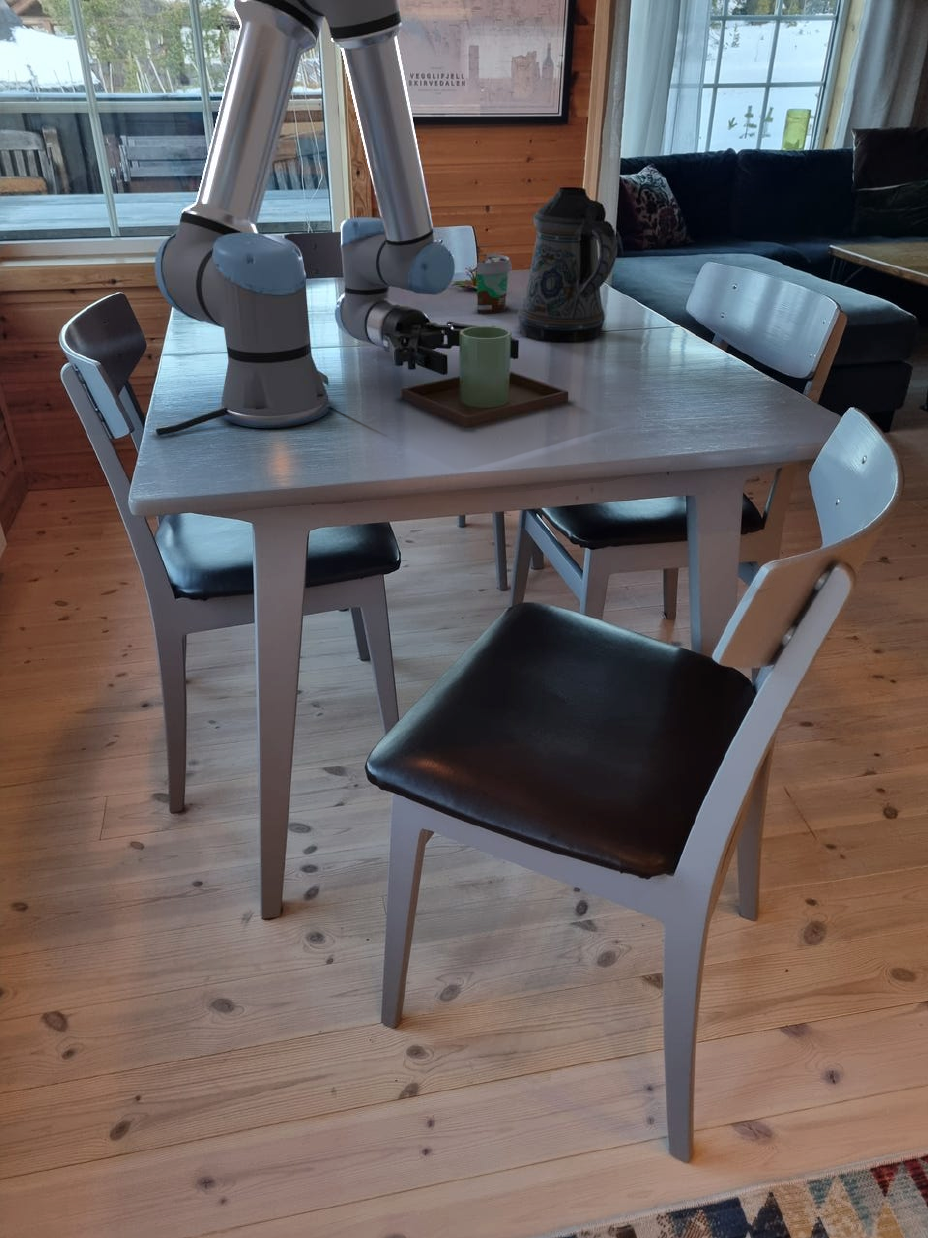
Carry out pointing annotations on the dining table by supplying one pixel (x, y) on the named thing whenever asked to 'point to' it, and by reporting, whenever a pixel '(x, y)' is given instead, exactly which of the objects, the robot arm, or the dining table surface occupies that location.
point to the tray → (447, 404)
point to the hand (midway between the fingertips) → (482, 357)
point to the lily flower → (467, 281)
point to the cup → (485, 366)
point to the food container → (492, 283)
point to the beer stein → (568, 269)
